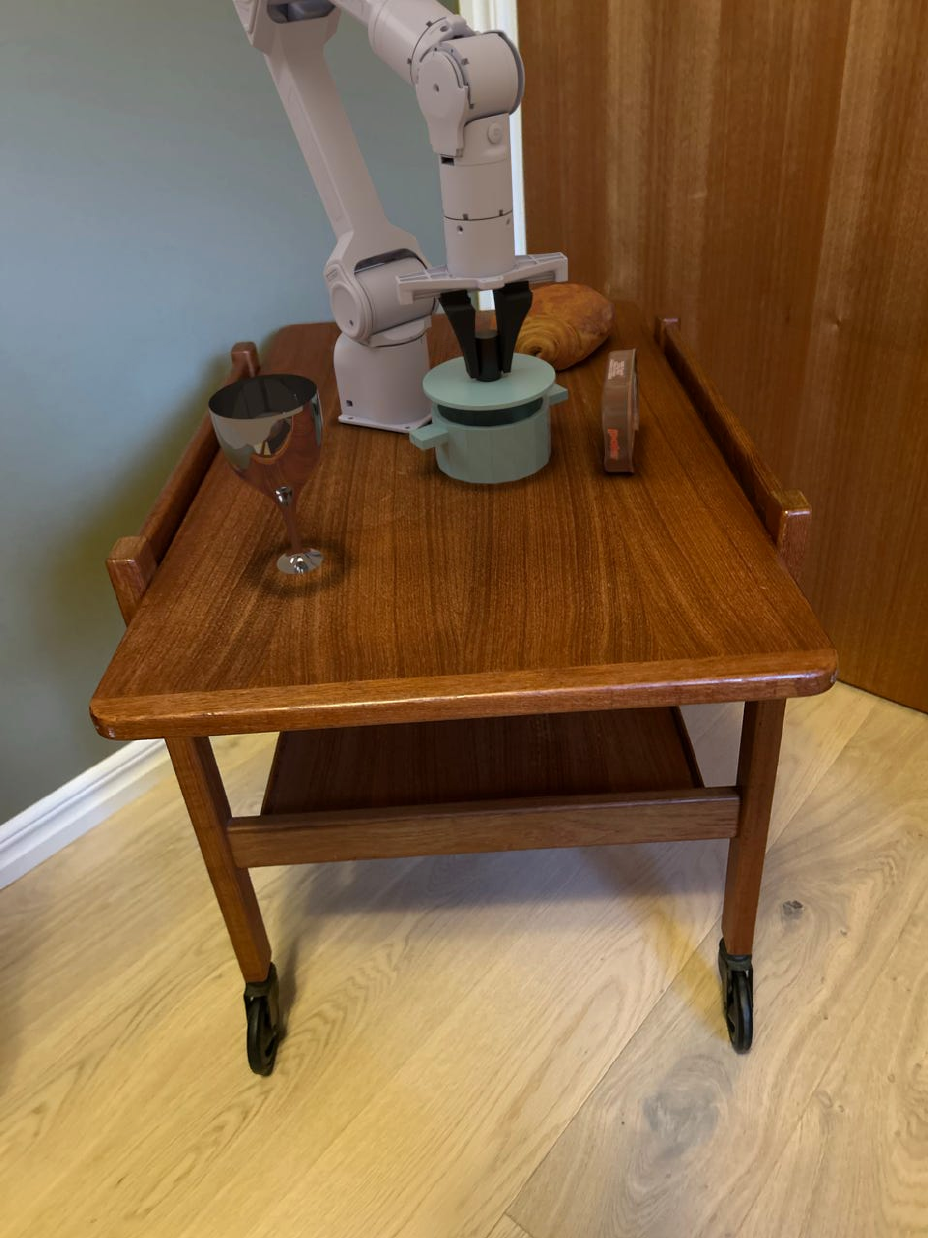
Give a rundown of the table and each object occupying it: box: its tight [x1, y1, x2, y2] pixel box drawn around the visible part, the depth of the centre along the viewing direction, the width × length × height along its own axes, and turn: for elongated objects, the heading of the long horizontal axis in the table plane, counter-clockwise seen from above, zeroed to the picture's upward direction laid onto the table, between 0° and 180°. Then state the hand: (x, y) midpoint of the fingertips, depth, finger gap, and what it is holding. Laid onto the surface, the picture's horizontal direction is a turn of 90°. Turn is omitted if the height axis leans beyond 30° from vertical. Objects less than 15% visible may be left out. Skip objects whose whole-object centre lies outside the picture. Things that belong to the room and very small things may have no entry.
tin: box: [600, 348, 640, 474], centre depth 85 cm, size 15×3×8 cm, turn 168°
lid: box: [423, 328, 557, 411], centre depth 81 cm, size 12×12×5 cm
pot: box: [408, 383, 569, 485], centre depth 86 cm, size 11×16×6 cm
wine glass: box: [207, 373, 324, 575], centre depth 71 cm, size 8×8×15 cm
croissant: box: [489, 283, 617, 372], centre depth 107 cm, size 14×16×8 cm
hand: (488, 371), depth 82 cm, fingers closed on lid, 2 cm apart
